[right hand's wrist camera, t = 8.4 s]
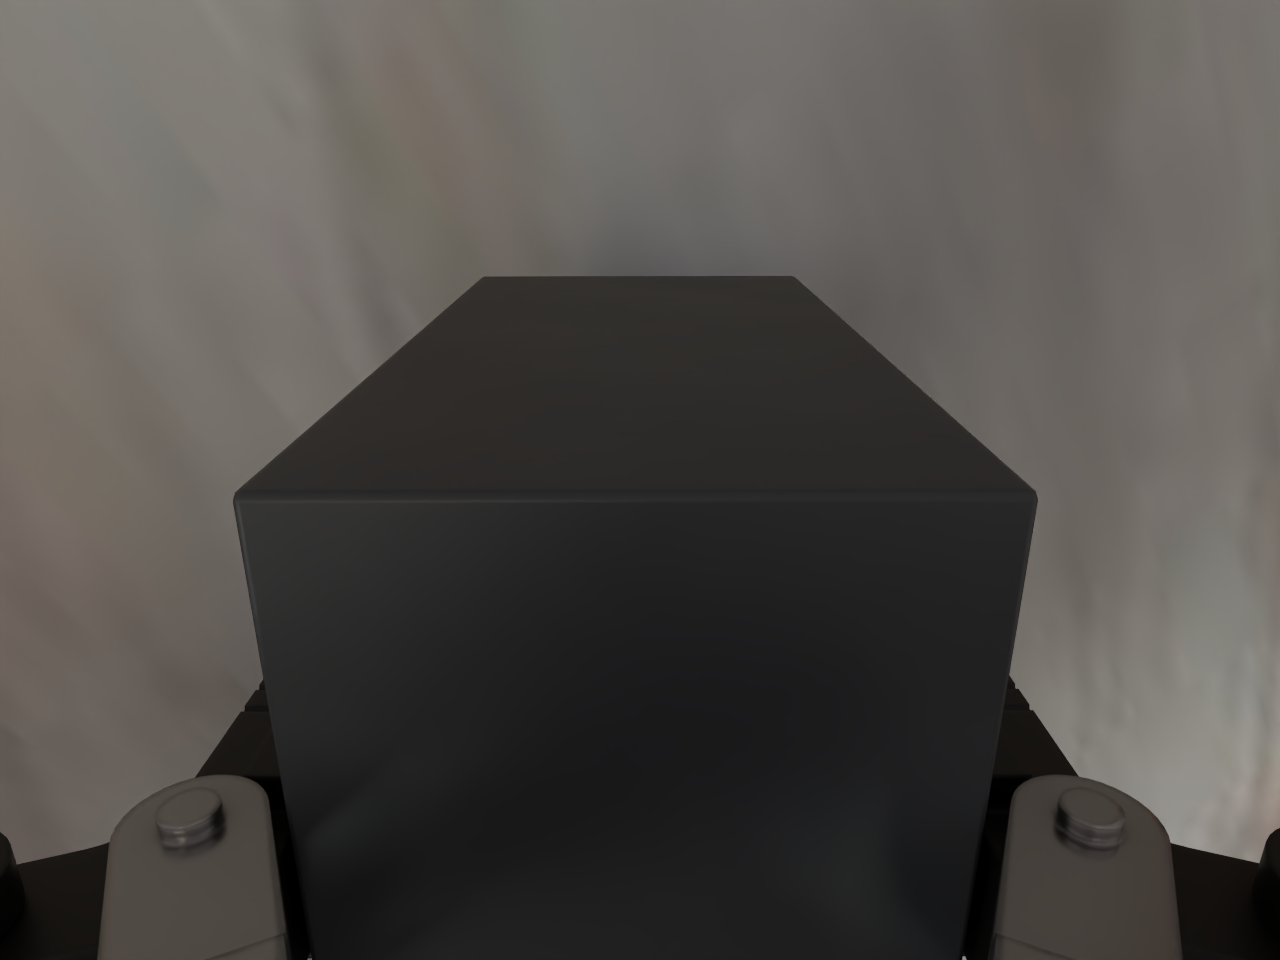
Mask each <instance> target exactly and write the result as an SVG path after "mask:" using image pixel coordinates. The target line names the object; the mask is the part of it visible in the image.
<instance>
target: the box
mask: <svg viewBox="0 0 1280 960" xmlns="http://www.w3.org/2000/svg"><path fill="white" fill-rule="evenodd" d="M1037 502H1038V498H1037V495H1036V491H1035V490H1033V489H1032V488H1031V487H1030V486H1029V485H1028V484H1027V483H1026V482H1024V481H1023V480H1022V479H1021V478H1020V477H1019V476H1018V475H1017V474H1015V473H1014V472H1013V471H1012V470H1011V469H1010V468H1009V467H1008V466H1006V465H1005V464H1004V463H1003V462H1002V461H1001V460H1000V459H999V458H998V457H996V456H995V455H994V454H993V453H992V452H991V451H990V450H989V449H987V448H986V447H985V446H984V445H983V444H982V443H981V442H980V441H978V440H977V439H976V438H975V437H974V436H973V435H972V434H971V433H969V432H968V431H967V430H966V429H965V428H964V427H963V426H962V425H960V424H959V423H958V422H957V421H956V420H955V419H954V418H953V417H951V416H950V415H949V414H948V413H947V412H946V411H945V410H944V409H942V408H941V407H940V406H939V405H938V404H937V403H936V402H935V401H933V400H932V399H931V398H930V397H929V396H928V395H927V394H926V393H924V392H923V391H922V390H921V389H920V388H919V387H918V386H917V385H915V384H914V383H913V382H912V381H911V380H910V379H909V378H908V377H906V376H905V375H904V374H903V373H902V372H901V371H900V370H899V369H897V368H896V367H895V366H894V365H893V364H892V363H891V362H890V361H888V360H887V359H886V358H885V357H884V356H883V355H882V354H881V353H879V352H878V351H877V350H876V349H875V348H874V347H873V346H872V345H870V344H869V343H868V342H867V341H866V340H865V339H864V338H863V337H861V336H860V335H859V334H858V333H857V332H856V331H855V330H854V329H852V328H851V327H850V326H849V325H848V324H847V323H846V322H845V321H843V320H842V319H841V318H840V317H839V316H838V315H837V314H836V313H834V312H833V311H832V310H831V309H830V308H829V307H828V306H827V305H825V304H824V303H823V302H822V301H821V300H820V299H819V298H818V297H816V296H815V295H814V294H813V293H812V292H811V291H810V290H809V289H807V288H806V287H805V286H804V285H803V284H802V283H801V282H800V281H798V280H797V279H796V278H795V277H793V276H541V277H483V278H481V279H480V280H479V281H478V282H477V283H476V284H474V285H473V286H472V287H471V288H470V289H469V290H468V291H466V292H465V293H464V294H463V295H462V296H461V297H459V298H458V299H457V300H456V301H455V302H454V303H453V304H451V305H450V306H449V307H448V308H447V309H446V310H445V311H443V312H442V313H441V314H440V315H439V316H438V317H436V318H435V319H434V320H433V321H432V322H431V323H430V324H428V325H427V326H426V327H425V328H424V329H423V330H422V331H420V332H419V333H418V334H417V335H416V336H415V337H413V338H412V339H411V340H410V341H409V342H408V343H407V344H405V345H404V346H403V347H402V348H401V349H400V350H399V351H397V352H396V353H395V354H394V355H393V356H392V357H390V358H389V359H388V360H387V361H386V362H385V363H384V364H382V365H381V366H380V367H379V368H378V369H377V370H375V371H374V372H373V373H372V374H371V375H370V376H369V377H367V378H366V379H365V380H364V381H363V382H362V383H361V384H359V385H358V386H357V387H356V388H355V389H354V390H352V391H351V392H350V393H349V394H348V395H347V396H346V397H344V398H343V399H342V400H341V401H340V402H339V403H338V404H336V405H335V406H334V407H333V408H332V409H331V410H329V411H328V412H327V413H326V414H325V415H324V416H323V417H321V418H320V419H319V420H318V421H317V422H316V423H315V424H313V425H312V426H311V427H310V428H309V429H308V430H306V431H305V432H304V433H303V434H302V435H301V436H300V437H298V438H297V439H296V440H295V441H294V442H293V443H292V444H290V445H289V446H288V447H287V448H286V449H285V450H283V451H282V452H281V453H280V454H279V455H278V456H277V457H275V458H274V459H273V460H272V461H271V462H270V463H268V464H267V465H266V466H265V467H264V468H263V469H262V470H260V471H259V472H258V473H257V474H256V475H255V476H254V477H252V478H251V479H250V480H249V481H248V482H247V483H245V484H244V485H243V486H242V487H241V488H240V489H239V490H237V491H236V492H235V495H234V499H233V504H234V510H235V516H236V522H237V527H238V533H239V539H240V545H241V551H242V556H243V562H244V568H245V574H246V580H247V585H248V591H249V597H250V603H251V609H252V614H253V620H254V626H255V632H256V638H257V643H258V649H259V655H260V661H261V667H262V672H263V678H264V684H265V690H266V696H267V701H268V707H269V713H270V719H271V725H272V730H273V736H274V742H275V748H276V754H277V759H278V765H279V771H280V777H281V782H282V788H283V794H284V800H285V806H286V811H287V817H288V823H289V829H290V835H291V840H292V846H293V852H294V858H295V864H296V869H297V875H298V881H299V887H300V893H301V898H302V904H303V910H304V916H305V922H306V927H307V933H308V939H309V945H310V951H311V956H312V960H962V956H963V950H964V944H965V938H966V932H967V926H968V920H969V914H970V908H971V902H972V896H973V890H974V884H975V878H976V872H977V866H978V860H979V853H980V847H981V841H982V835H983V829H984V823H985V817H986V811H987V805H988V799H989V793H990V787H991V781H992V775H993V769H994V763H995V757H996V751H997V744H998V738H999V732H1000V726H1001V720H1002V714H1003V708H1004V702H1005V696H1006V690H1007V684H1008V678H1009V672H1010V666H1011V660H1012V654H1013V648H1014V642H1015V635H1016V629H1017V623H1018V617H1019V611H1020V605H1021V599H1022V593H1023V587H1024V581H1025V575H1026V569H1027V563H1028V557H1029V551H1030V545H1031V539H1032V533H1033V526H1034V520H1035V514H1036V508H1037Z"/></svg>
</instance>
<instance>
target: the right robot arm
mask: <svg viewBox="0 0 1280 960" xmlns="http://www.w3.org/2000/svg"><path fill="white" fill-rule="evenodd" d="M963 956H966V959H967V960H1280V828H1279V829H1277V830H1275V831H1274V832H1273V833H1272V834H1270V835H1269V837H1268V839H1267V841H1266V844H1265V847H1264V850H1263V853H1262V857H1261V860H1260V863H1255V862H1251V861H1246V860H1242V859H1237V858H1232V857H1228V856H1223V855H1219V854H1214V853H1210V852H1205V851H1201V850H1196V849H1192V848H1187V847H1184V846H1180V845H1176V844H1172V843H1170V839H1169V836H1168V834H1167V832H1166V830H1165V828H1164V826H1163V825H1162V823H1161V822H1160V821H1159V819H1158V818H1157V817H1156V816H1155V815H1154V814H1153V813H1152V812H1151V811H1150V810H1149V809H1148V808H1146V807H1145V806H1144V805H1143V804H1141V803H1140V802H1139V801H1137V800H1136V799H1134V798H1132V797H1131V796H1129V795H1128V794H1126V793H1124V792H1122V791H1120V790H1118V789H1116V788H1114V787H1111V786H1109V785H1106V784H1104V783H1101V782H1098V781H1094V780H1091V779H1087V778H1083V777H1079V776H1078V775H1077V773H1076V772H1075V771H1074V769H1073V768H1072V766H1071V765H1070V763H1069V762H1068V760H1067V759H1066V757H1065V756H1064V755H1063V753H1062V752H1061V750H1060V749H1059V747H1058V746H1057V744H1056V743H1055V741H1054V740H1053V738H1052V737H1051V736H1050V734H1049V733H1048V731H1047V730H1046V728H1045V727H1044V725H1043V724H1042V722H1041V721H1040V720H1039V718H1038V717H1037V715H1036V714H1035V712H1034V711H1033V710H1030V709H1029V704H1028V702H1027V701H1026V699H1025V698H1024V696H1023V695H1022V693H1021V692H1020V690H1019V689H1015V683H1014V682H1013V680H1012V679H1011V677H1010V676H1009V678H1008V684H1007V690H1006V696H1005V702H1004V708H1003V714H1002V720H1001V726H1000V732H999V738H998V744H997V751H996V757H995V763H994V769H993V775H992V781H991V787H990V793H989V799H988V805H987V811H986V817H985V823H984V829H983V835H982V841H981V847H980V853H979V860H978V866H977V872H976V878H975V884H974V890H973V896H972V902H971V908H970V914H969V920H968V926H967V932H966V938H965V944H964V950H963ZM308 958H312V956H311V951H310V945H309V939H308V933H307V927H306V922H305V916H304V910H303V904H302V898H301V893H300V887H299V881H298V875H297V869H296V864H295V858H294V852H293V846H292V840H291V835H290V829H289V823H288V817H287V811H286V806H285V800H284V794H283V788H282V782H281V777H280V771H279V765H278V759H277V754H276V748H275V742H274V736H273V730H272V725H271V719H270V713H269V707H268V701H267V696H266V690H265V684H264V679H263V681H262V682H261V683H260V685H259V690H256V691H255V692H254V694H253V695H252V696H251V698H250V699H249V701H248V702H247V704H246V705H245V710H244V712H240V714H239V715H238V717H237V718H236V719H235V721H234V722H233V724H232V725H231V727H230V728H229V729H228V731H227V732H226V734H225V735H224V737H223V738H222V740H221V741H220V742H219V744H218V745H217V747H216V748H215V750H214V751H213V752H212V754H211V755H210V757H209V758H208V760H207V761H206V763H205V764H204V765H203V767H202V768H201V770H200V771H199V773H198V774H197V775H196V777H195V778H193V779H189V780H186V781H182V782H179V783H176V784H174V785H171V786H169V787H166V788H164V789H162V790H160V791H158V792H156V793H154V794H152V795H151V796H149V797H148V798H146V799H144V800H143V801H141V802H140V803H139V804H137V805H136V806H135V807H134V808H132V809H131V810H130V811H129V812H128V813H127V814H126V815H125V816H124V817H123V818H122V819H121V821H120V822H119V823H118V825H117V826H116V828H115V830H114V832H113V834H112V836H111V839H110V842H109V843H106V844H103V845H100V846H97V847H93V848H89V849H85V850H81V851H76V852H72V853H67V854H63V855H58V856H54V857H49V858H45V859H40V860H36V861H31V862H27V863H22V864H18V865H17V864H16V860H15V857H14V854H13V851H12V848H11V844H10V843H9V841H8V839H7V837H5V836H4V835H3V834H2V833H0V960H307V959H308Z"/></svg>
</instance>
